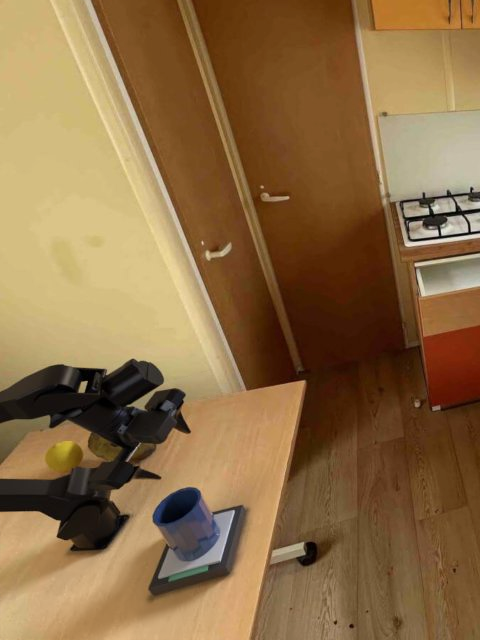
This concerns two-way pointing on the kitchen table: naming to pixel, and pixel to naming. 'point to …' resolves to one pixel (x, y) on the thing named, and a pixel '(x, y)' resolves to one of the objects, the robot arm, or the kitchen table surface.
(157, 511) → the cup
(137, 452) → the potato
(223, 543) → the scale
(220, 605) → the kitchen table surface
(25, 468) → the kitchen table surface
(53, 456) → the lemon
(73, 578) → the kitchen table surface
